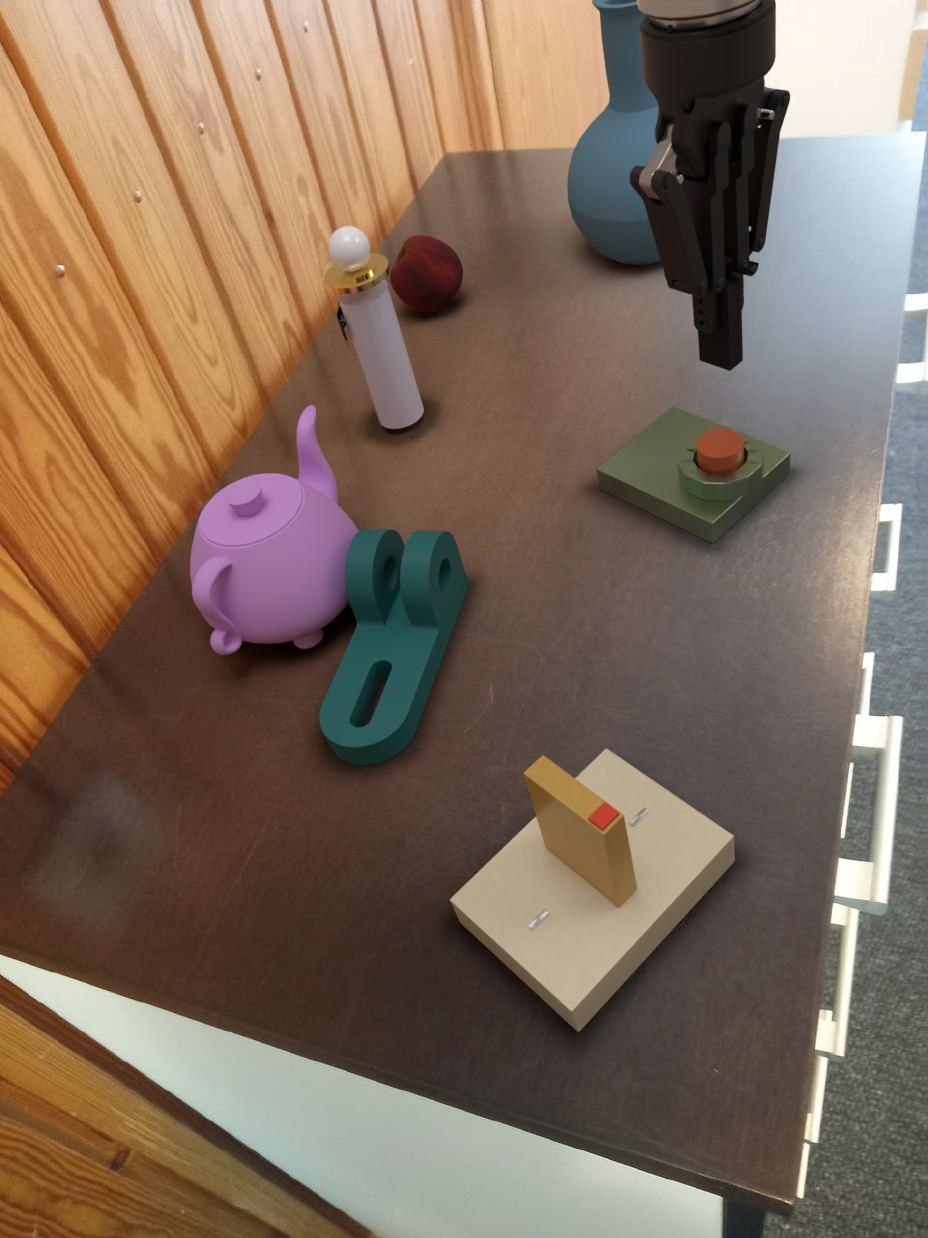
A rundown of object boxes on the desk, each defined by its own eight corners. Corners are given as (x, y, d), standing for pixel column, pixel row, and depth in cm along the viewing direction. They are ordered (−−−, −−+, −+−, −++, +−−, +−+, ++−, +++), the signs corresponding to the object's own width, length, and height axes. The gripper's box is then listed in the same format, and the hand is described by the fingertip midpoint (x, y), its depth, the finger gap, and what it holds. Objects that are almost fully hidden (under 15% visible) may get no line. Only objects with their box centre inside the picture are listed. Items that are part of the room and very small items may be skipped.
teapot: (292, 506, 95) (243, 394, 86) (426, 527, 89) (388, 409, 80) (169, 668, 84) (98, 559, 75) (312, 705, 78) (254, 591, 69)
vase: (757, 216, 113) (755, -41, 95) (671, 294, 106) (652, 32, 88) (631, 195, 122) (608, -43, 104) (546, 265, 115) (505, 23, 97)
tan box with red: (544, 847, 62) (521, 770, 56) (563, 829, 63) (542, 751, 57) (619, 908, 59) (603, 833, 53) (638, 889, 59) (623, 812, 53)
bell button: (753, 455, 81) (753, 437, 80) (724, 480, 80) (724, 463, 79) (716, 440, 83) (715, 422, 82) (688, 464, 82) (686, 447, 81)
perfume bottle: (436, 399, 102) (382, 207, 88) (426, 436, 98) (368, 241, 84) (381, 404, 103) (319, 216, 89) (369, 441, 100) (302, 250, 85)
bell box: (793, 474, 84) (794, 435, 81) (715, 545, 81) (713, 507, 78) (674, 425, 91) (671, 388, 89) (599, 488, 88) (593, 451, 85)
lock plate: (611, 773, 68) (605, 746, 66) (735, 861, 62) (734, 834, 60) (459, 922, 64) (448, 898, 61) (578, 1033, 57) (570, 1010, 55)
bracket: (392, 581, 86) (366, 510, 80) (469, 585, 83) (447, 512, 78) (315, 760, 75) (278, 692, 69) (401, 770, 72) (370, 701, 67)
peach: (413, 288, 118) (395, 222, 112) (477, 285, 115) (462, 218, 110) (393, 325, 113) (373, 258, 108) (459, 323, 111) (443, 254, 105)
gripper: (685, 56, 53) (705, 424, 70) (833, -38, 58) (819, 328, 75) (578, 43, 58) (622, 391, 75) (724, -43, 63) (734, 303, 79)
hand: (721, 360), depth 75 cm, fingers closed
